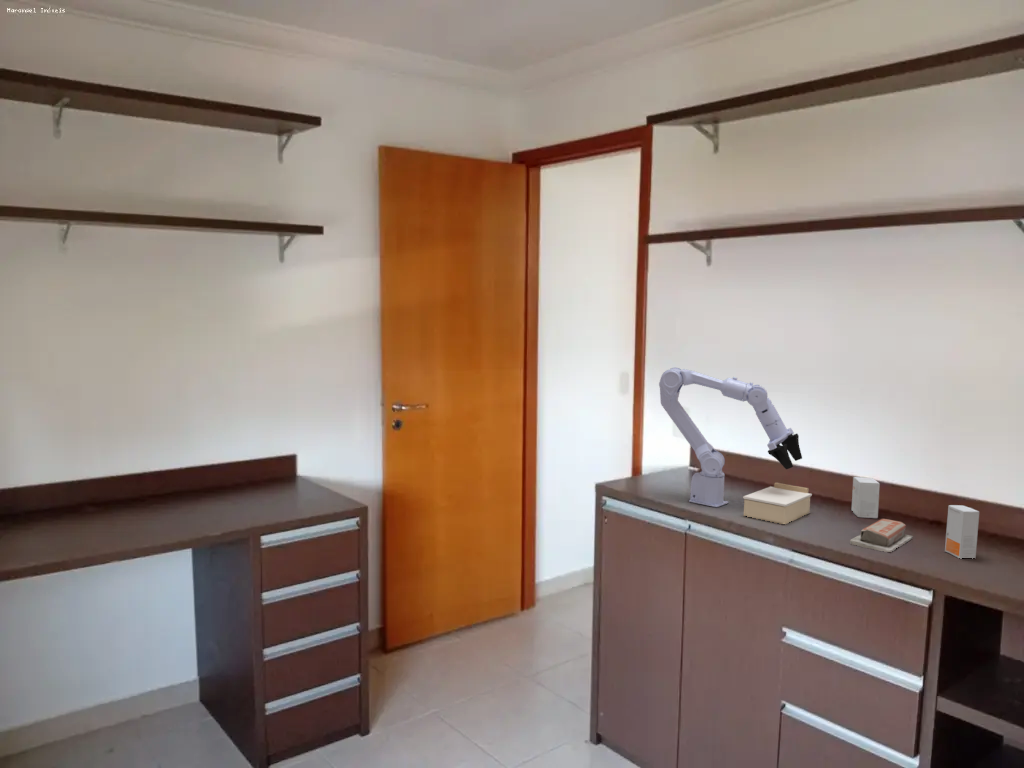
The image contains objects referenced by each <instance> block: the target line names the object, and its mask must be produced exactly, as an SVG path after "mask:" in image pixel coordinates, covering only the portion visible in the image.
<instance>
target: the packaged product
mask: <svg viewBox="0 0 1024 768" xmlns="http://www.w3.org/2000/svg"><path fill="white" fill-rule="evenodd" d="M906 529H907V525H906V524H905V523H904V522H902V521H898V520H892V519H887V518H881V519H879V520H877V521H875V522H873V523H872V524H870V525H868V526H866V527H863V528H862V529H861V531H860V534H859V535H857V536H855V537H853V538H851V539H850V540H849V544H850V545H851V544H852V546H855V545H857V547H861V548H865V549H870V550H873V549H874V551H879V552H882V551H884V552H883V553H887V552H891V553H893V552H894V551H895V550H897V549H899V548H900V547H902V546H904V545H905V544H906V543H908V542H909V541H911V540H912V539H913V538H914V536H913V535H909V534H905V532H906ZM903 544H904V545H903ZM898 547H899V548H898ZM896 548H897V549H896ZM892 551H893V552H892Z"/></svg>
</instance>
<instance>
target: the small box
mask: <svg viewBox="0 0 1024 768" xmlns="http://www.w3.org/2000/svg"><path fill="white" fill-rule="evenodd" d="M880 485H881V484H880V482H879V481H877V480H876V479H875V478H874V477H861V476H853V477H852V492H851V493H852V494H851V495H852V496H851V497H852V499H851V512H852V511H853V512H852V513H853V515H855V516H856V517H858V518H863V519H864V518H865V519H878V518H879V507H880V506H879V502H880V487H881V486H880Z"/></svg>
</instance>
